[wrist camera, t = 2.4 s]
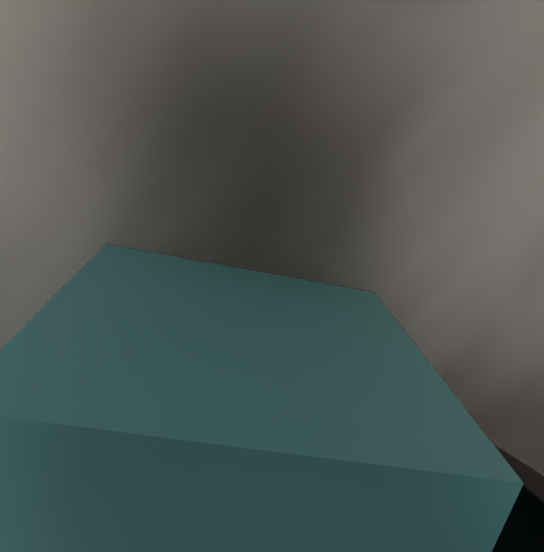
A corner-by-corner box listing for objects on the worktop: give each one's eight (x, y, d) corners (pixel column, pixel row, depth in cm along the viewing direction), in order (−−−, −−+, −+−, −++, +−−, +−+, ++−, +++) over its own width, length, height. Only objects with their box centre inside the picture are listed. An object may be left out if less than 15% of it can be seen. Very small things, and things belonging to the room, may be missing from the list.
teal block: (372, 291, 9) (523, 482, 4) (312, 494, 11) (374, 802, 6) (107, 242, 8) (-59, 408, 4) (83, 468, 10) (-57, 793, 5)
